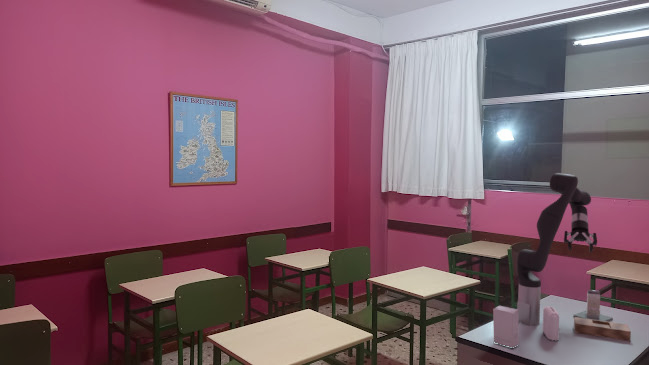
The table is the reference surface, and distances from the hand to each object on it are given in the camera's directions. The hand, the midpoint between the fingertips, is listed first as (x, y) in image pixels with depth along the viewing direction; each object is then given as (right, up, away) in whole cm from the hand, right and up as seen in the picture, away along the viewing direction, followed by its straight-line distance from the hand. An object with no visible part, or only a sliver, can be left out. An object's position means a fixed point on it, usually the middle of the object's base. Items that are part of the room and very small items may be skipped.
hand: (580, 250), depth 220 cm
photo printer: (-29, -32, -29) cm, 52 cm away
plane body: (-5, -32, -25) cm, 41 cm away
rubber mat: (+2, -31, -7) cm, 32 cm away
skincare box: (-52, -33, -38) cm, 72 cm away
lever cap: (+2, -30, -7) cm, 31 cm away
